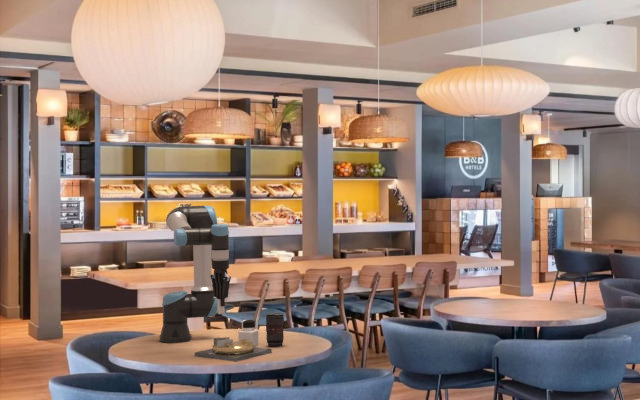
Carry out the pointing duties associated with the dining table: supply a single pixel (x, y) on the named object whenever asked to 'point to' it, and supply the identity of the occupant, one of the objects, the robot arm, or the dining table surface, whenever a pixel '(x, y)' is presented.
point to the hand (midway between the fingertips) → (221, 313)
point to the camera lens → (274, 329)
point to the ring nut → (231, 346)
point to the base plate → (233, 357)
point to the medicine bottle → (249, 332)
